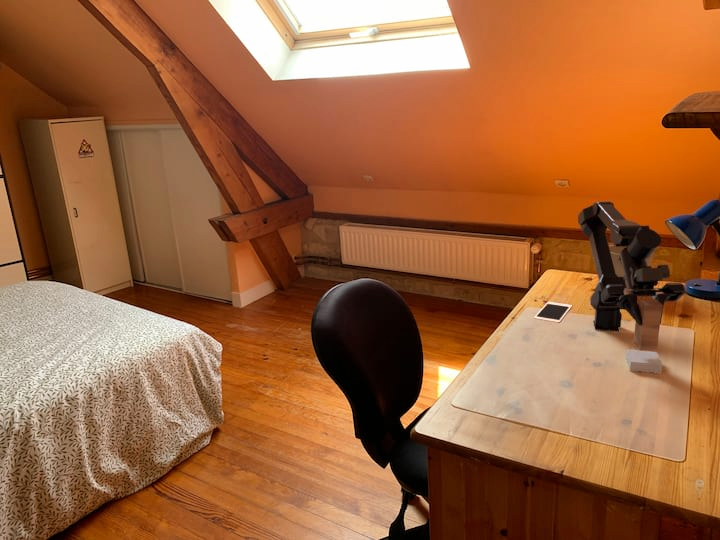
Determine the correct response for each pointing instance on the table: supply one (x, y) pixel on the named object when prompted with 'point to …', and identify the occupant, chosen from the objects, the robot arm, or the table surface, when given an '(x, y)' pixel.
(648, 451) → the table surface
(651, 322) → the walnut block
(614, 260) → the plant pot
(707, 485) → the table surface
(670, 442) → the table surface
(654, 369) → the base
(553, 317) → the cell phone
